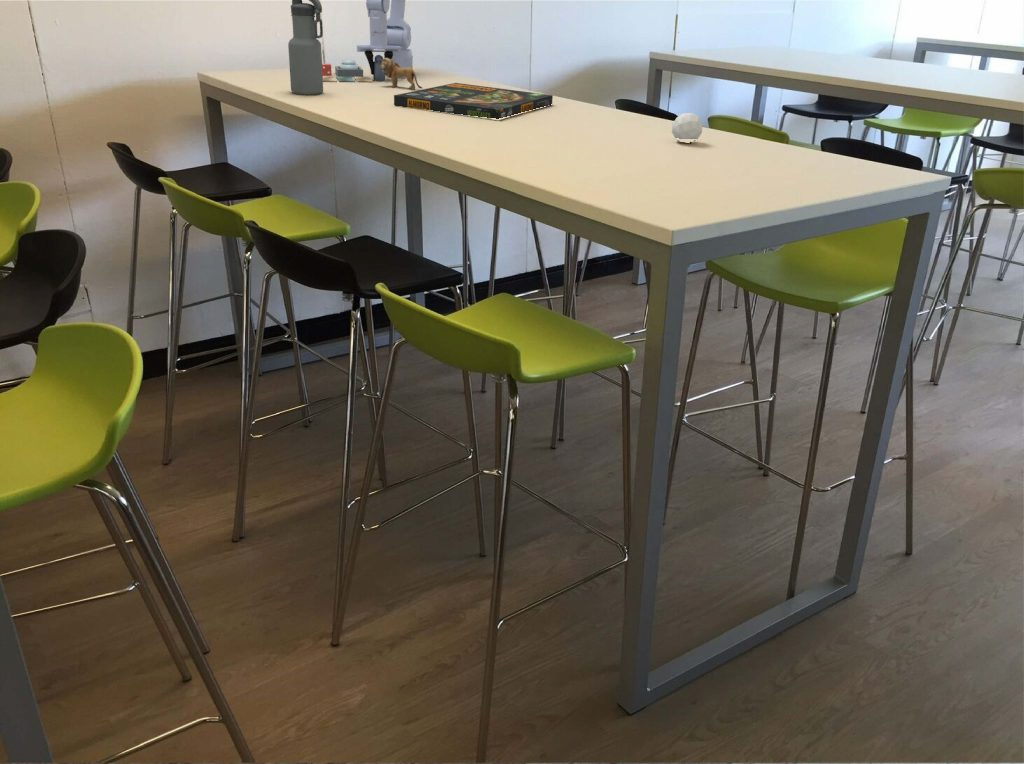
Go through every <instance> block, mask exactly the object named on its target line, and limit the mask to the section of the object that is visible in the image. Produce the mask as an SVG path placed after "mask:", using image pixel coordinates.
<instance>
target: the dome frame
mask: <svg viewBox="0 0 1024 764" xmlns="http://www.w3.org/2000/svg"><path fill="white" fill-rule="evenodd" d="M334 73H335V75H336V77H352V78H354V77H364V69H363V68H362V67H361V66H359V65H358V70H356V69H340V65H335V66H334Z"/></svg>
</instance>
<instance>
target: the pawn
mask: <svg viewBox="0 0 1024 764" xmlns="http://www.w3.org/2000/svg"><path fill="white" fill-rule="evenodd" d="M383 59H384V56H382V55H381V54H376V55H375V56H374V58H373V67H374V75H372V77H373V79H372V81H374V82H385V81H386V75H385V73H384V72H383V71H382V69H381V67H380V66H381V65H382V60H383Z"/></svg>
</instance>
